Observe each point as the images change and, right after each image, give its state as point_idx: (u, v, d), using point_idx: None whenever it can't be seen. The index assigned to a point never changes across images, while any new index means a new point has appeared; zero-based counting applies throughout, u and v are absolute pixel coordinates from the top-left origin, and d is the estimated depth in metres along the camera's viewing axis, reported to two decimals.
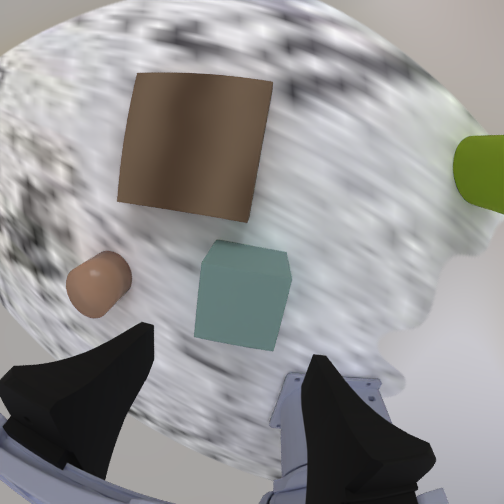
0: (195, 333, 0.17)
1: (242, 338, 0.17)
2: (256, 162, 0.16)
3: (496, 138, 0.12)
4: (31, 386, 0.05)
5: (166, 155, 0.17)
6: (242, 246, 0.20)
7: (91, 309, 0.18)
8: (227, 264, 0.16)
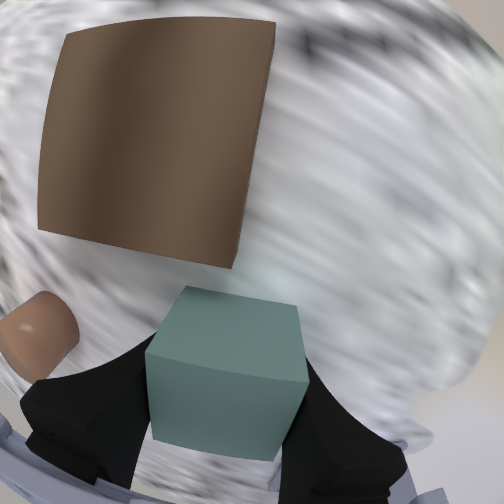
0: (154, 436, 0.09)
1: (225, 448, 0.09)
2: (246, 160, 0.09)
3: None
4: (61, 402, 0.05)
5: (96, 153, 0.09)
6: (225, 300, 0.12)
7: (27, 374, 0.10)
8: (191, 353, 0.08)
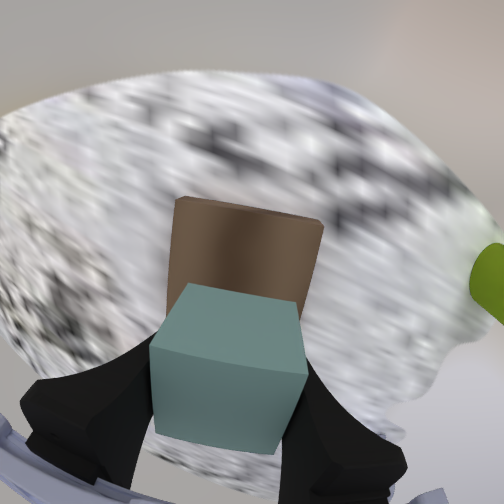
0: (156, 429, 0.10)
1: (226, 441, 0.09)
2: (302, 304, 0.18)
3: None
4: (61, 402, 0.05)
5: None
6: (227, 296, 0.12)
7: None
8: (194, 346, 0.09)
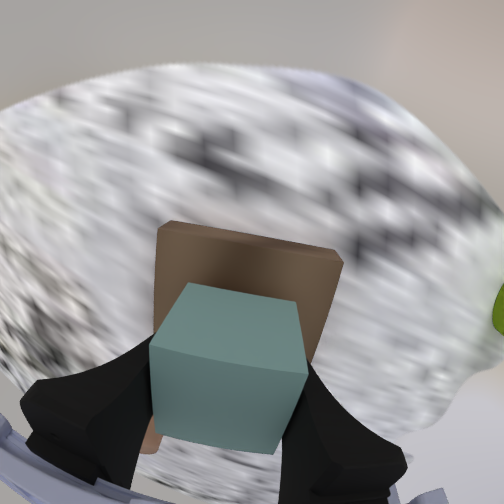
0: (156, 429, 0.10)
1: (226, 441, 0.09)
2: (313, 350, 0.15)
3: None
4: (61, 402, 0.05)
5: None
6: (226, 296, 0.12)
7: None
8: (193, 345, 0.09)
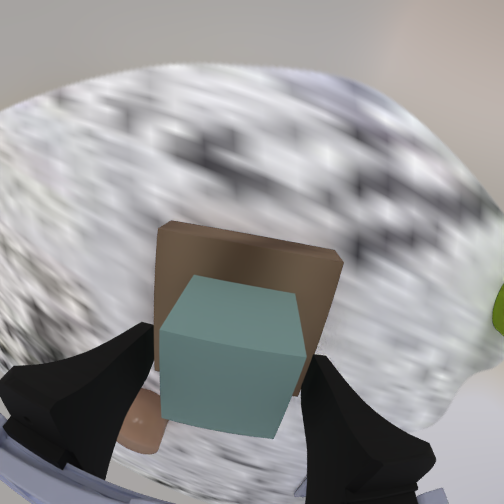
0: (162, 414, 0.10)
1: (229, 425, 0.10)
2: (313, 350, 0.15)
3: None
4: (31, 386, 0.05)
5: None
6: (230, 287, 0.13)
7: (138, 448, 0.16)
8: (201, 330, 0.09)
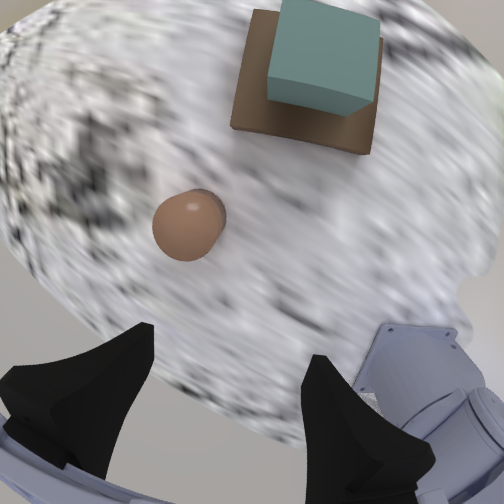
0: (270, 71, 0.11)
1: (334, 78, 0.11)
2: (376, 101, 0.15)
3: None
4: (31, 386, 0.05)
5: None
6: None
7: (186, 249, 0.17)
8: (309, 5, 0.10)
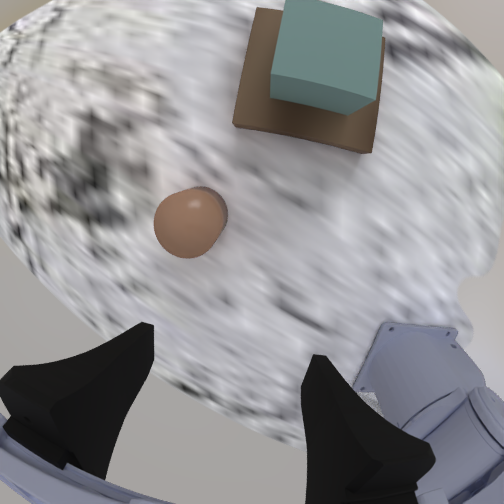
0: (273, 68, 0.11)
1: (337, 75, 0.11)
2: (378, 100, 0.15)
3: None
4: (31, 386, 0.05)
5: None
6: None
7: (188, 246, 0.17)
8: (312, 4, 0.10)
